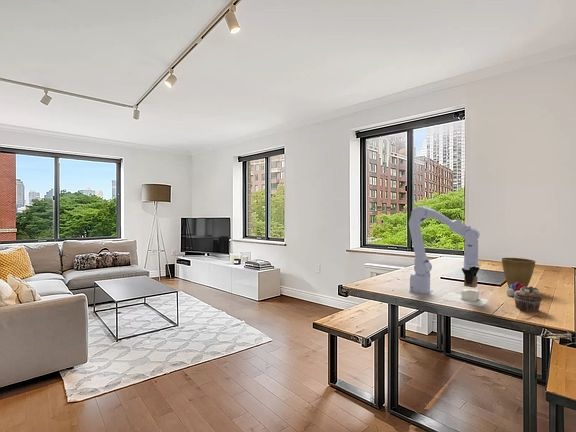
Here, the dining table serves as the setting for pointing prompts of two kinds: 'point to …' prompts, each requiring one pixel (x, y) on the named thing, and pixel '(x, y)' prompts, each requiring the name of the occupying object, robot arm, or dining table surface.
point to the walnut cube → (474, 282)
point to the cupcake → (528, 299)
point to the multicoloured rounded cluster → (514, 289)
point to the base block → (470, 294)
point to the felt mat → (458, 299)
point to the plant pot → (518, 270)
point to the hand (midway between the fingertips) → (470, 282)
